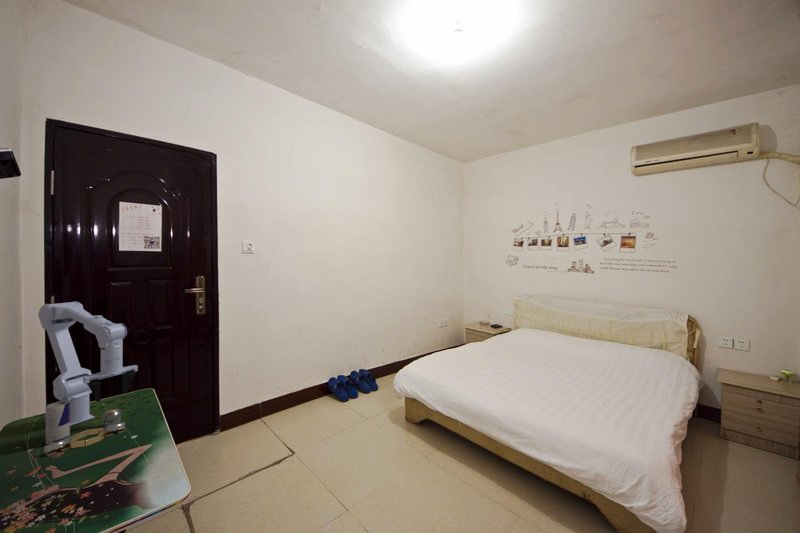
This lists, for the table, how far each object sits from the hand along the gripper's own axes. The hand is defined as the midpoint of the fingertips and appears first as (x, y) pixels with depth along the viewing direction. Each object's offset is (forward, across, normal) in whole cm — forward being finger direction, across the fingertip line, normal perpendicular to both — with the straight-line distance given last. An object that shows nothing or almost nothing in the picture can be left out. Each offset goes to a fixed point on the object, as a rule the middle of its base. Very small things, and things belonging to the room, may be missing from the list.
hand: (111, 396), depth 111 cm
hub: (+10, 0, 0) cm, 10 cm away
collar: (+10, -8, -4) cm, 14 cm away
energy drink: (+11, -12, +4) cm, 17 cm away
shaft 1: (+10, -15, -4) cm, 19 cm away
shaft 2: (+10, -2, -7) cm, 12 cm away
